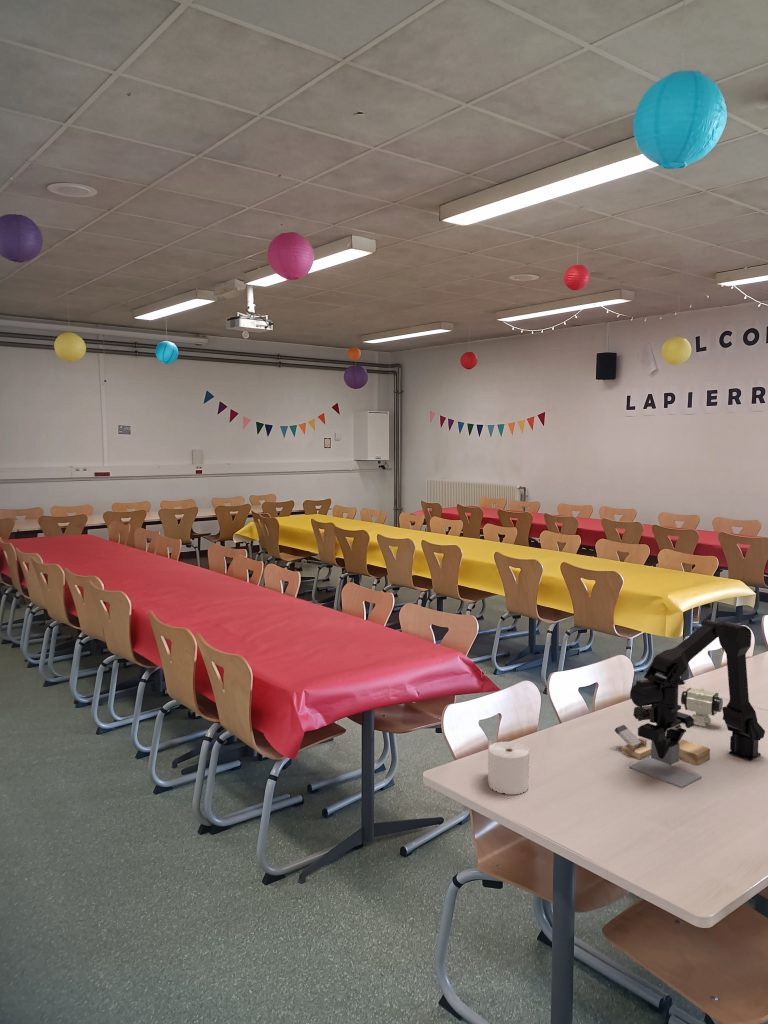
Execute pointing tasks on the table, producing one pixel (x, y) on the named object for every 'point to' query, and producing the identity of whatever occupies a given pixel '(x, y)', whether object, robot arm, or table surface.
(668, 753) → the grey knobbed drawer
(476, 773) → the table surface
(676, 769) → the felt pad
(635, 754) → the lever mount
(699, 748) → the body
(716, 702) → the pneumatic valve
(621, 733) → the lever
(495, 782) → the toilet tissue
